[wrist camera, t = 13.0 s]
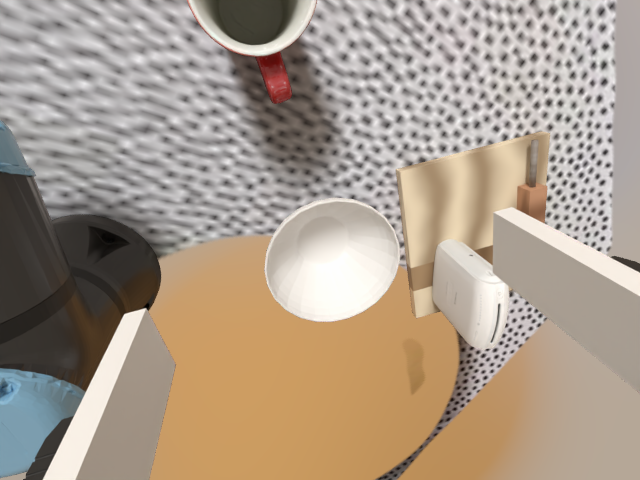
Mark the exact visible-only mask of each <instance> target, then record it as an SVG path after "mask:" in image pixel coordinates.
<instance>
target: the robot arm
mask: <svg viewBox="0 0 640 480" xmlns="http://www.w3.org/2000/svg"><path fill="white" fill-rule="evenodd" d="M33 176H36V175H35V172H34V171H33V170H32V169H31V168H29V167H28V165H27V163H26V161H25V159H24V157H23V155H22V153H21V150H20V148H19V146H18V144H17V142H16V140H15V138H14V136H13V134H12V132H11V130H10V129H9V127H8V126H7V125H6V124H5V123H4V122H3V121H1V120H0V478H2V477H7V476H12V475H17V474H20V473H24V472H27V471H28V472H27V473H26V479H23V480H149V478H150V474H151V470H152V465H153V461H154V456H155V453H156V448H157V444H158V440H159V435H160V431H161V427H162V422H163V418H164V414H165V410H166V405H167V401H168V397H169V392H170V388H171V384H172V379H173V375H174V371H175V366H176V364H175V362H174V360H173V358H172V356H171V355H170V352H169V350H168V349H167V347H166V345H165V343H164V341H163V339H162V337H161V335H160V333H159V331H158V330H157V328H156V326H155V324H154V322H153V320H152V318H151V316H150V314H149V312H148V311H149V309H150V308H151V306H152V305H153V303H154V300H155V298H156V296H157V293H158V291H159V287H160V282H161V271H160V265H159V262H158V259H157V257H156V255H155V253H154V251H153V250H152V248H151V247H150V246H149V244H148V243H147V242H146V241H145V240H144V239H143V238H142V237H141V236H140V235H139V234H137V233H136V232H135V231H133V230H132V229H130V228H129V227H127V226H125V225H123V224H121V223H119V222H117V221H114V220H111V219H108V218H105V217H100V216H95V215H70V216H64V217H60V218H57V219H54V220H52V221H51V218H50V216H49V213H48V211H47V209H46V206H45V204H44V201H43V199H42V196H41V194H40V191H39V189H38V186H37V184H36V182H35V179H34V177H33ZM493 274H495V275H496V276H497V277H498V278H499V279H501V280H502V281H503V282H504V283H506V284H507V285H508V286H509V287H510V288H512V289H513V290H514V291H515V292H517V293H518V294H519V295H520V296H521V297H523V298H524V299H525V300H526V301H528V302H529V303H530V304H531V305H532V306H534V307H535V308H536V309H537V310H538V311H540V312H541V313H542V314H543V315H545V316H546V317H547V318H548V319H549V320H551V321H552V322H553V323H554V324H556V325H557V326H558V327H559V328H561V329H562V330H563V331H564V332H566V333H567V334H568V335H569V336H571V337H572V338H573V339H574V340H575V341H576V342H578V343H579V344H580V345H581V346H582V347H584V348H585V349H586V350H587V351H589V352H590V353H591V354H592V355H593V356H595V357H596V358H597V359H598V360H599V361H601V362H602V363H603V364H604V365H606V366H607V367H608V368H609V369H611V370H612V371H613V372H614V373H615V374H617V375H618V376H619V377H620V378H622V379H623V380H624V381H625V382H626V383H628V384H629V385H630V386H631V387H632V388H634V389H635V390H636V391H637V392H638V393H640V264H639V263H637V262H635V261H631V260H628V259H624V258H620V257H616V256H612V257H608V256H606V255H604V254H602V253H600V252H598V251H597V250H595V249H593V248H591V247H589V246H587V245H585V244H583V243H581V242H579V241H577V240H575V239H573V238H571V237H569V236H567V235H565V234H563V233H562V232H560V231H558V230H556V229H554V228H552V227H550V226H548V225H546V224H544V223H542V222H540V221H538V220H536V219H534V218H532V217H530V216H528V215H527V214H525V213H523V212H521V211H519V210H517V209H515V208H513V207H510V208H507V209H503V210H500V211H496V212H493Z"/></svg>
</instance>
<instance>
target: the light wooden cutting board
mask: <svg viewBox="0 0 640 480" xmlns="http://www.w3.org/2000/svg"><path fill="white" fill-rule="evenodd" d="M531 140H539V144H538V159H537V174H536V182H537V183H539V184H542V185H544V186H546V178H547V165H548V152H549V140H550V133H547V132H542V131H541V132H537V133H534V134H530V135H526V136H522V137H518V138H514V139H511V140H507V141H503V142H499V143H495V144H491V145H488V146H484V147H480V148H476V149H472V150H468V151H465V152H461V153H457V154H453V155H449V156H445V157H442V158H438V159H434V160H430V161H426V162H422V163H419V164H415V165H411V166H407V167H403V168H399V169H396V174H397V183H398V192H399V201H400V210H401V218H402V227H403V236H404V245H405V253H406V262H407V271H408V279H409V289H410V297H411V305H412V313H413V314H414V316H415V317H416V318H419V317H423V316H426V315H429V314H432V313H436V312H440V311H441V310H440V309H439V308H438V307H437V306H436V304H435V303H434V301H433V297H432V287H433V272H434V261H435V253H436V249H437V246H438V245H439V244H440V243H441V242H443V241H445V240H448V239H454V240H457V241H458V242H463V243H464V244H466V245H467V246H468V247H469V248H471V249H472V250H473V251H474V252H476V253H477V254H478V255H480V256H481V257H482V258H483V259H485V260H486V261H487V262H489V263H490V264H491V265H493V212H496V211H500V210H503V209H507V208H510V207H513V208H515V209H517V187H518V186H520V185H523V184H527V183H529V171H530V153H531ZM508 287H509V286H508ZM511 290H513V289H512V288H510V287H509V291H511Z"/></svg>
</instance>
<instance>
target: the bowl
mask: <svg viewBox="0 0 640 480" xmlns="http://www.w3.org/2000/svg"><path fill="white" fill-rule="evenodd" d="M399 262H400V251H399V243H398V239H397V236H396V233H395V230H394V229H393V227H392V226H391V225H390V223H389V222H388V220H387V219H386V217H384V216H383V215H382V214H380V213H379V212H378V211H376V210H375V209H374V208H372V207H371V206H369V205H367V204H364V203H361V202H359V201H356V200H354V199H345V198H329V199H324V200H318V201H314V202H312V203H310V204H307V205H305V206H303V207H301V208H299V209H298V210H296V211H295V212H294V213H292V214H291V215H290V216H288V217H287V218H286V219H285V220H284V221H283V222H282V223H281V225H280V226H279V227H278V229H277V230H276V231H275V233H274V234H273V236H272V239H271V241H270V244H269V246H268V248H267V252H266V260H265V270H264V271H265V276H266V280H267V285H268V288H269V289H270V291H271V293H272V295H273V296H274V298H275V300H276V301H277V302H278V303H279V304H280V305H281V306H282V307H283V308H284V309H285V310H286V311H288V312H290V313H292V314H294V315H296V316H297V317H299V318H303V319H307V320H311V321H315V322H334V321H339V320H343V319H348V318H351V317H353V316H355V315H357V314H360V313H362V312H364V311H365V310H367V309H368V308H370V307H371V306H372V305H374V304H375V303H376V302H378V300H379V299H380V298H381V297H382V296H383V295H384V294H385V293H386V291H387V290H388V289H389V287H390V285H391V283H392V282H393V280H394V278H395V276H396V273H397V269H398V265H399Z"/></svg>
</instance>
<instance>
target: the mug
mask: <svg viewBox="0 0 640 480" xmlns="http://www.w3.org/2000/svg"><path fill="white" fill-rule="evenodd" d="M187 2H188V4H189V7H190V9H191V11H192V13H193V15H194V17H195V18H196V20H197V22H198V23H199V25H200V26H201V27H202V28H203V30H204V31H205V32H206V33H207V34H208V35H209V36H210V37H211V38H212V39H213V40H214V41H215V42H217V43H218V44H219V45H221V46H223V47H224V48H226V49H228V50H230V51H232V52H234V53H237V54H240V55H244V56H253V57H255V58H256V60H257V63H258V66H259V68H260V71H261V74H262V77H263V80H264V83H265V86H266V89H267V91H268V94H269V97H270V99H271V101H272V103H274V104H277V103H281V102H284V101H286V100H288V99H290V98H291V96H292V90H291V86H290V82H289V79H288V75H287V72H286V69H285V65H284V63H283V60H282V57H281V53H280V51H282V50H284V49H285V48H287V47H289V46H290V45H291V44H293V43H294V42H295V41H296V40H297V39H298V38H299V37H300V36H301V35H302V33H303V32H304V31H305V29H306V28H307V26H308V25H309V23H310V21H311V18H312V16H313V14H314V11H315V8H316V4H317V0H187Z"/></svg>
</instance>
